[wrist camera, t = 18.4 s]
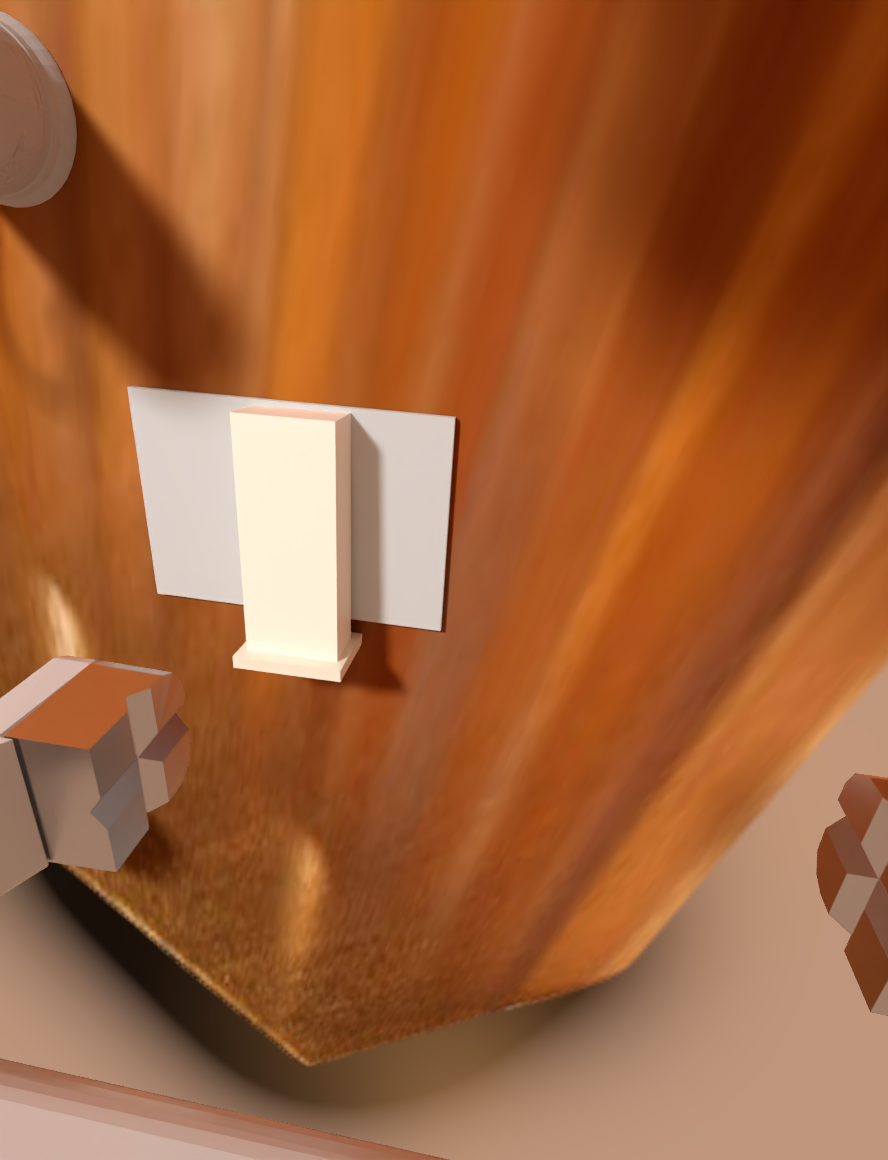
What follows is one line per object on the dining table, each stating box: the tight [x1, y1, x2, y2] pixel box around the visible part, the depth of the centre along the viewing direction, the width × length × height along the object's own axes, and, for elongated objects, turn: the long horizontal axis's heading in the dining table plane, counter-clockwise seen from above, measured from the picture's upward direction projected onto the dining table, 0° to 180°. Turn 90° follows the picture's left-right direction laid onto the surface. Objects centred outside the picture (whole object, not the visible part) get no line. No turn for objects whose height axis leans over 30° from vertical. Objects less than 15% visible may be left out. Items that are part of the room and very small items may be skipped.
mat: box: [127, 386, 456, 631], centre depth 41 cm, size 20×14×1 cm
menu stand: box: [230, 404, 362, 682], centre depth 40 cm, size 5×7×16 cm
